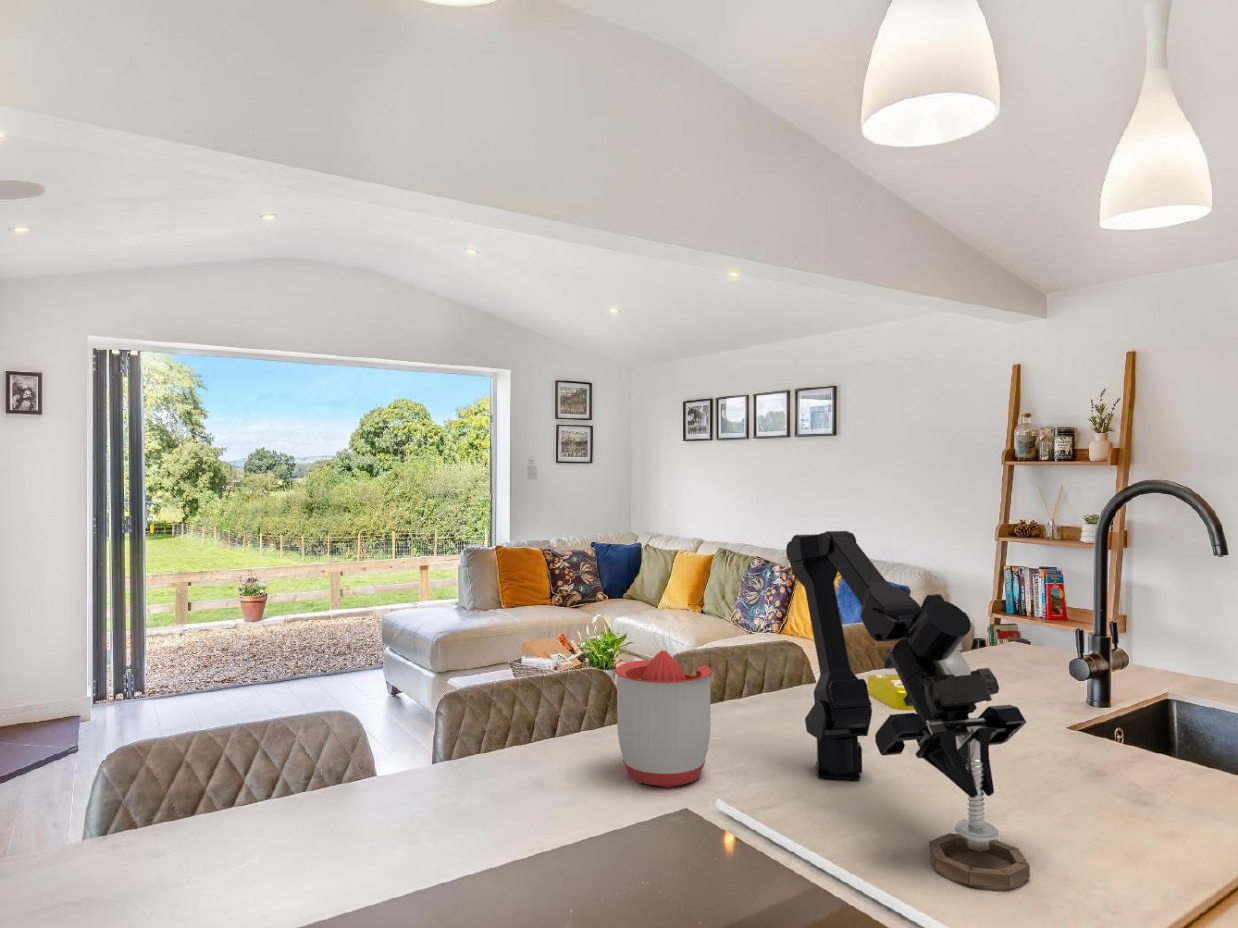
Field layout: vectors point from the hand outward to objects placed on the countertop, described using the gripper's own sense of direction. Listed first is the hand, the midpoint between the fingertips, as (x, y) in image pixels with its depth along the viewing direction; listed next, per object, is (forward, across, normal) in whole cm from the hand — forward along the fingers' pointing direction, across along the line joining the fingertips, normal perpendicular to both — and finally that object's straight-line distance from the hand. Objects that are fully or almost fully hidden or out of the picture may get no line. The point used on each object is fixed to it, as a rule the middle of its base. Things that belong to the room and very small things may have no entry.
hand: (983, 795), depth 94 cm
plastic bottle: (-19, +23, +33) cm, 44 cm away
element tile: (-42, +39, +57) cm, 81 cm away
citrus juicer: (-22, -27, +36) cm, 50 cm away
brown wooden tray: (+6, 0, +7) cm, 9 cm away
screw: (+4, 0, +6) cm, 7 cm away
